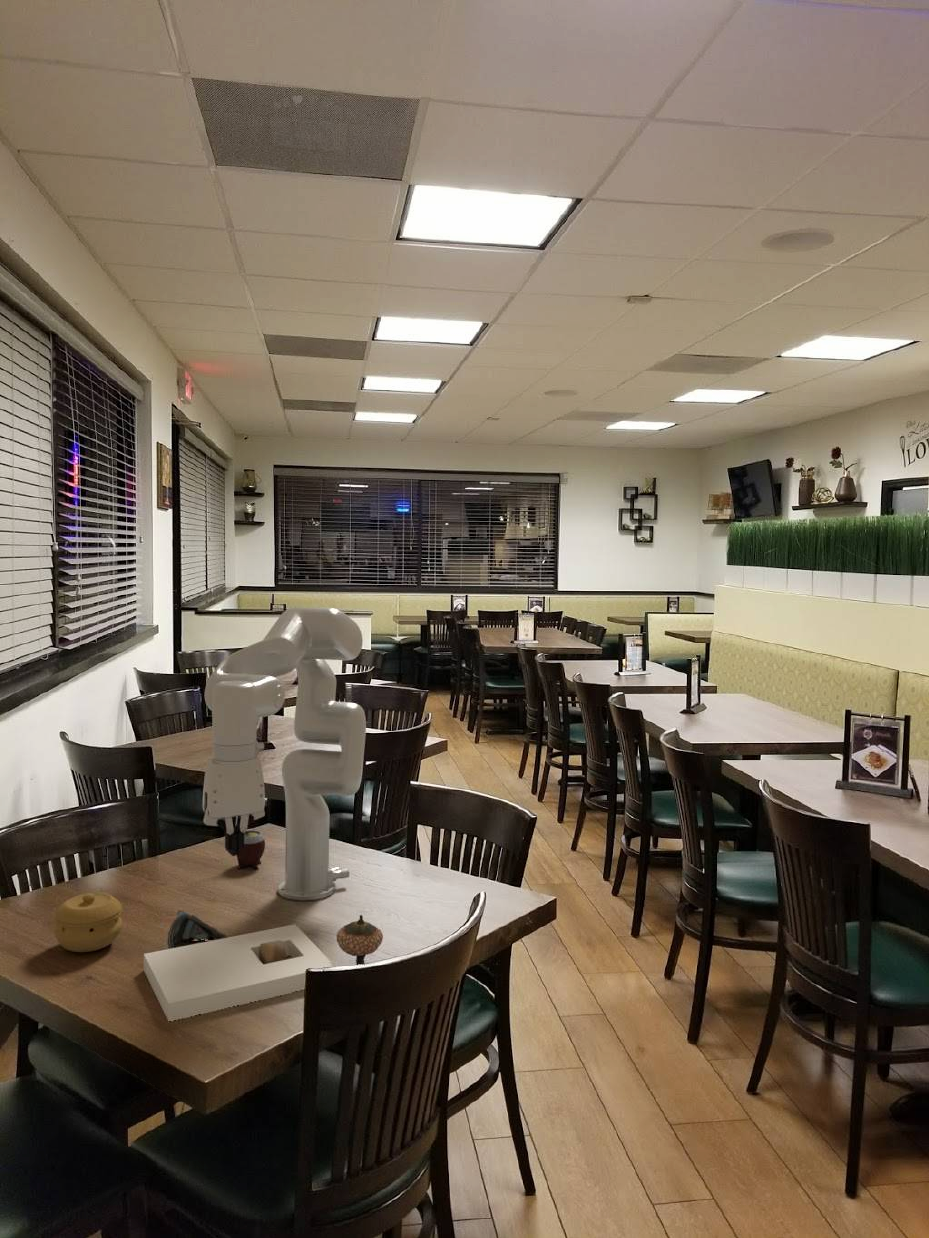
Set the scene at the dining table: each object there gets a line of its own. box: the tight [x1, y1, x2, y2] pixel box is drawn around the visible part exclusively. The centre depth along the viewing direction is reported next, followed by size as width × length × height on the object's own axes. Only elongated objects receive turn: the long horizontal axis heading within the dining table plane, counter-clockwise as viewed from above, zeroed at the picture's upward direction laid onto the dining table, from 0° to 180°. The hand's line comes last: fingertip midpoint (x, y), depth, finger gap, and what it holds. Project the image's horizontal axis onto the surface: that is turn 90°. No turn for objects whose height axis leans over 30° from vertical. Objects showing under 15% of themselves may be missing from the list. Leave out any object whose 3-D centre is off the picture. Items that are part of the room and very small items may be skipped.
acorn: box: [335, 914, 384, 966], centre depth 159 cm, size 8×8×10 cm
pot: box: [53, 892, 123, 953], centre depth 165 cm, size 12×12×10 cm
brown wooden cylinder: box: [259, 940, 287, 965], centre depth 157 cm, size 5×5×4 cm
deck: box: [143, 924, 335, 1022], centre depth 155 cm, size 28×20×3 cm
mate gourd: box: [235, 816, 266, 871], centre depth 210 cm, size 8×8×15 cm
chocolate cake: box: [167, 910, 229, 949], centre depth 168 cm, size 10×7×12 cm
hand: (234, 852), depth 157 cm, fingers closed
